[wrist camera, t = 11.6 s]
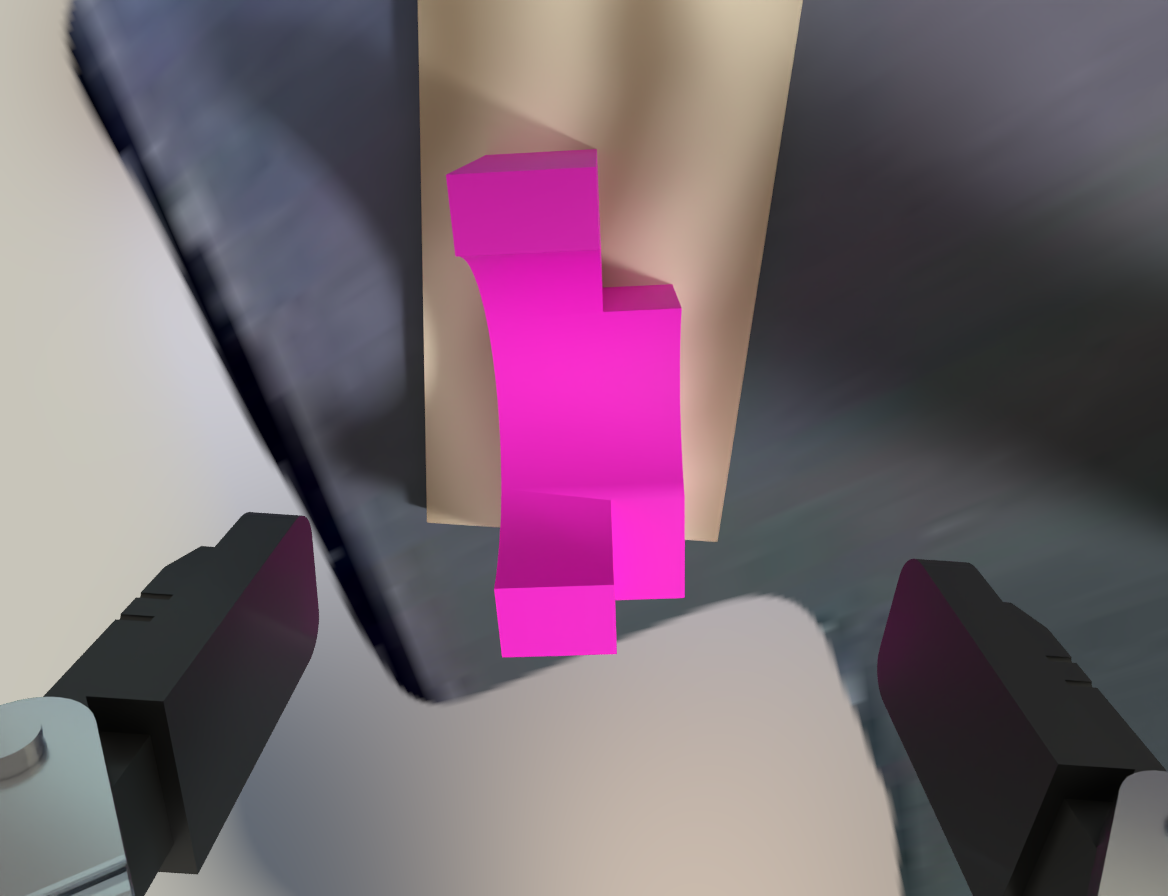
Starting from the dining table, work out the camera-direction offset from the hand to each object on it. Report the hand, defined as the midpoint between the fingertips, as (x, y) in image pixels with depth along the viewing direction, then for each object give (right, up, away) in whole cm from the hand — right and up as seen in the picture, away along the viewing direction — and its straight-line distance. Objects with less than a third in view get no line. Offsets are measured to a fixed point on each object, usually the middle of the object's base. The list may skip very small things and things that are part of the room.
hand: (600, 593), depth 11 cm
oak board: (0, +8, +18) cm, 20 cm away
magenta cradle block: (0, +5, +19) cm, 20 cm away
